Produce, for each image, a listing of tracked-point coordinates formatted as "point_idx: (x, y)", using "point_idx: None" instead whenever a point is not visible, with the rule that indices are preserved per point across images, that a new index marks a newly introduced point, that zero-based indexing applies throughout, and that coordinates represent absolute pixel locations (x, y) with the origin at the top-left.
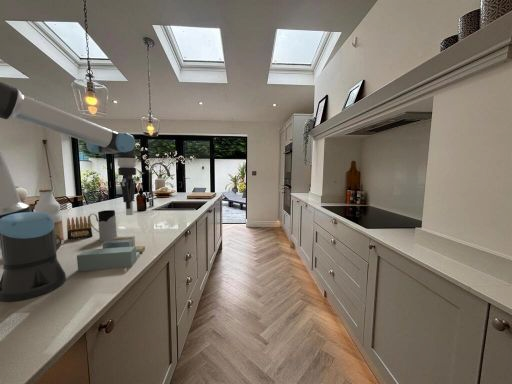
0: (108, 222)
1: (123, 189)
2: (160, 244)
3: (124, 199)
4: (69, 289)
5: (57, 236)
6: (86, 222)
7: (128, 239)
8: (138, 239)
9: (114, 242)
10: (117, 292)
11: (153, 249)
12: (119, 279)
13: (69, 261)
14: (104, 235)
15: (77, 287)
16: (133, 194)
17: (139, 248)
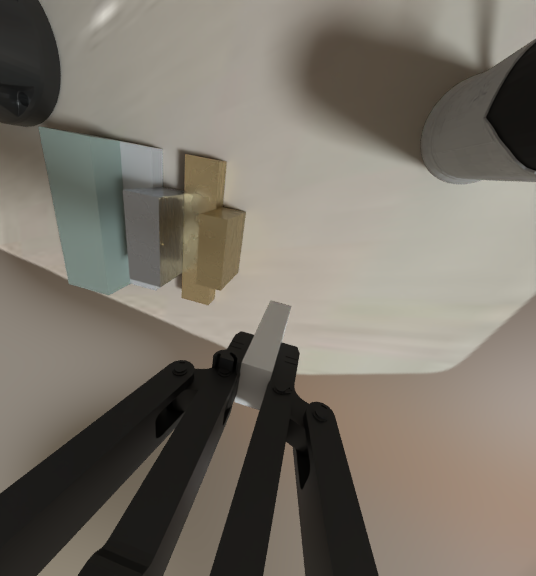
0: (478, 135)
1: (12, 504)
2: None
3: (162, 380)
4: (8, 154)
5: None
6: None
7: (155, 276)
8: (356, 280)
9: (129, 232)
10: (8, 251)
11: (213, 319)
12: (49, 249)
13: (170, 56)
14: (442, 116)
15: (16, 169)
16: (300, 503)
17: (186, 291)
